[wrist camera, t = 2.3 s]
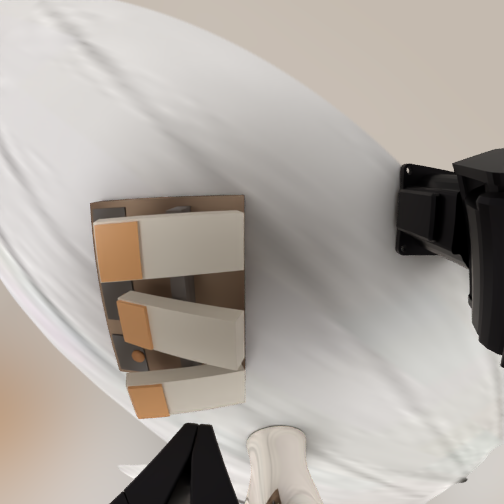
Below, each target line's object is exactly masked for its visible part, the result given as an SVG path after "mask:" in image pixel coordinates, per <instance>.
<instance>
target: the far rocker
mask: <svg viewBox="0 0 504 504" xmlns="http://www.w3.org/2000/svg"><path fill="white" fill-rule="evenodd" d="M126 387H127V390H128V393H129V396H130V399H131V402H132V405H133V407H134V410H135V413H136V415H137V417H138V419H144V418H157V417H168V416H170V415H171V414H180V413H187V412H195V411H201V410H208V409H214V408H219V407H225V406H230V405H235V404H240V403H245V369H244V368H243V366H242V364H241V365H240V366H239V368H238V370H237V371H235V370H230V369H226V368H221V367H217V366H213V365H208V364H206V365H199V366H192V367H184V368H175V369H166V370H156V371H145V372H132V373H127V374H126Z"/></svg>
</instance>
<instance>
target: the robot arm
mask: <svg viewBox="0 0 504 504" xmlns="http://www.w3.org/2000/svg"><path fill="white" fill-rule="evenodd" d="M452 164H453V168H454V172H450V171H446V170H441V169H436V168H431V167H426V166H420V165H415V164H404V165H402V167H401V185H400V192H399V202H398V217H397V228H398V232H397V242H396V251H397V252H398V253H399V254H401V255H440V256H442V257H444V258H446V259H448V260H451V261H453V262H455V263H457V264H459V265H461V266H463V267H465V268H467V269H469V277H470V294H469V295H468V303H469V305H470V307H471V308H472V324H473V326H474V328H475V330H476V332H477V334H478V335H479V342H480V343H481V344H483V345H484V346H485V347H486V348H487V349H489V350H491V351H493V352H495V353H497V354H499V355H502V359H501V364H500V365H501V367H503V368H504V148H502V149H495V150H491V151H488V152H485V153H482V154H479V155H476V156H473V157H470V158H467V159H464V160H461V161H458V162H455V163H452ZM407 168H408V169H409V173H407V171H406V170H407ZM403 245H404V249H403V250H401V248H402V246H403ZM110 504H239V502H238V499H237V497H236V494H235V491H234V489H233V486H232V483H231V481H230V478H229V475H228V472H227V469H226V467H225V464H224V461H223V458H222V455H221V452H220V449H219V446H218V443H217V439H216V436H215V433H214V430H213V427H212V425H208V424H200V425H198V424H195V423H185V424H184V425H183V427H182V428H181V429H180V430H179V431H178V432H177V433H176V435H175V436H174V437H173V438H172V439H171V440H170V441H169V442H168V444H167V445H166V446H165V447H164V448H163V449H162V450H161V451H160V452H159V454H158V455H157V456H156V457H155V458H154V459H153V460H152V461H151V462H150V463H149V464H148V465H147V466H146V468H145V469H144V470H143V471H142V472H141V473H140V474H139V475H138V476H137V477H136V478H135V479H134V480H133V481H132V482H131V483H130V484H129V485H128V487H126V488H125V489H124V492H121V494H119V495H118V496H117V497H116V498H115V499H114V500H113V501H112V502H111V503H110Z"/></svg>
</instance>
